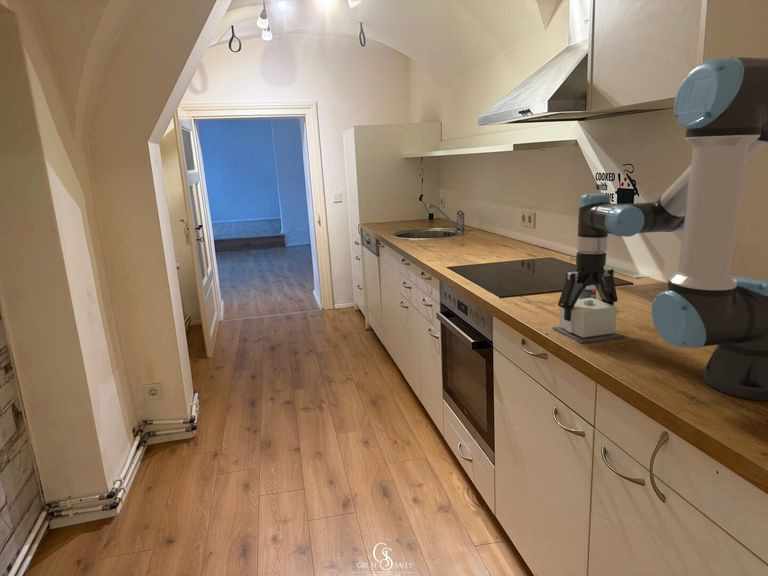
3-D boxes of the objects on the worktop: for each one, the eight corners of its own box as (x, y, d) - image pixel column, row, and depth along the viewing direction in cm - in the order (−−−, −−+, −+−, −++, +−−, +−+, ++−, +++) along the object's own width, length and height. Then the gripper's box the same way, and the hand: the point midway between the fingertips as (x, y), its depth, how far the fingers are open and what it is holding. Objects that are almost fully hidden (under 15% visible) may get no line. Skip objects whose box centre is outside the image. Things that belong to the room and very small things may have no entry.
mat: (621, 337, 139) (621, 335, 139) (581, 343, 135) (581, 341, 135) (590, 323, 151) (590, 321, 151) (552, 329, 148) (552, 327, 147)
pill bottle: (592, 307, 167) (594, 281, 165) (576, 305, 170) (578, 279, 168) (597, 303, 171) (599, 278, 169) (581, 301, 174) (582, 276, 172)
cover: (615, 332, 139) (617, 303, 137) (582, 337, 137) (584, 307, 135) (589, 322, 149) (591, 294, 147) (559, 326, 146) (560, 298, 144)
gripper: (616, 246, 144) (610, 320, 150) (546, 252, 138) (543, 329, 143) (636, 250, 137) (629, 327, 143) (563, 257, 131) (559, 338, 136)
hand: (586, 328), depth 143 cm, fingers closed on cover, 10 cm apart
